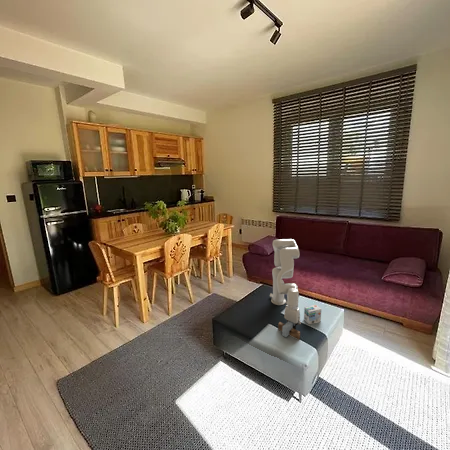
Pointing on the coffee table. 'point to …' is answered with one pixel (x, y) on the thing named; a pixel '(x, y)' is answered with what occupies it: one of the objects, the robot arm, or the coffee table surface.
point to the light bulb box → (312, 314)
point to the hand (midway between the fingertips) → (291, 328)
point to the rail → (292, 332)
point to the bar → (287, 328)
